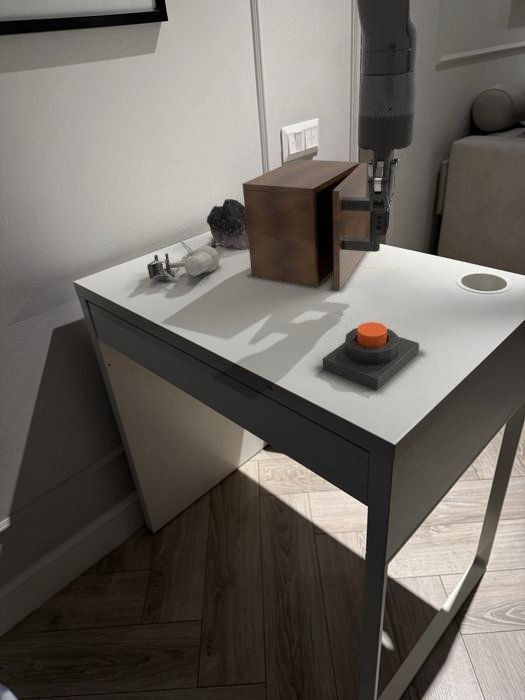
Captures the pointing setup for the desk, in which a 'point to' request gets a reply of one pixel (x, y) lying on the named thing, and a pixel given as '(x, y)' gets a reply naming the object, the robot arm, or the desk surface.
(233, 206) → the crystal cluster
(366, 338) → the release button
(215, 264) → the clip-on lamp
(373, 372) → the button box
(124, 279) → the desk surface
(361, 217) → the cabinet door
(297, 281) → the cabinet
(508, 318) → the desk surface
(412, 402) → the desk surface
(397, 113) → the robot arm
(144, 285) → the desk surface
